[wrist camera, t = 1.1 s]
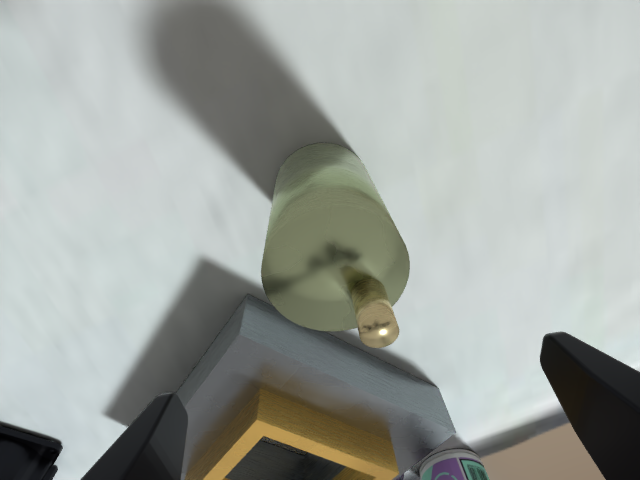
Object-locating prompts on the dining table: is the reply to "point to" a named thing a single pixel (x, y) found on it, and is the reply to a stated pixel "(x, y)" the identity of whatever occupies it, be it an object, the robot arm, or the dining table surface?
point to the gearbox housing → (303, 406)
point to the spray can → (453, 466)
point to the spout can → (333, 247)
